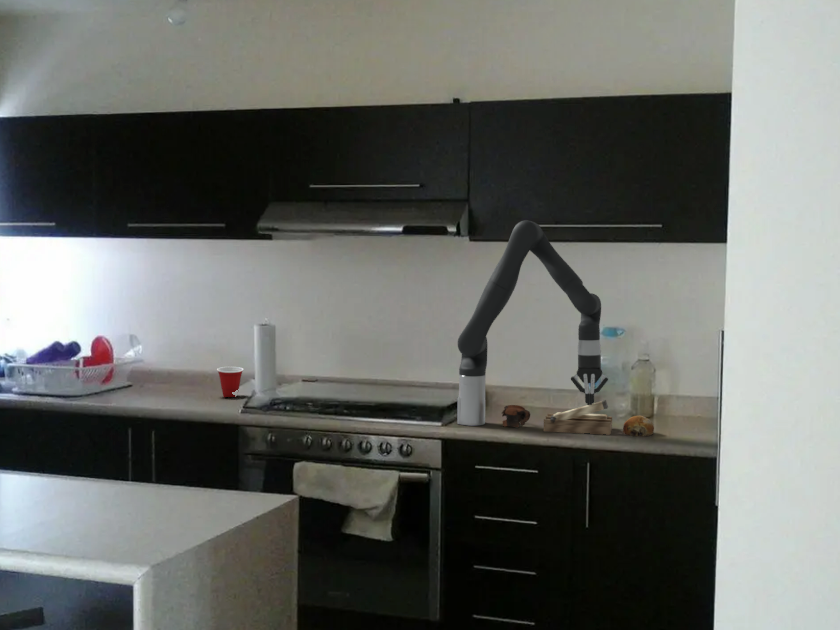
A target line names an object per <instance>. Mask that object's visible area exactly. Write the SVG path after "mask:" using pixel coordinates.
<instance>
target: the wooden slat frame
mask: <svg viewBox="0 0 840 630" xmlns="http://www.w3.org/2000/svg"><path fill="white" fill-rule="evenodd" d="M558 413H562V411H561V412H560V411H559V412H558V411H557V412H556V413H547V415H546V416H545V418H544V419H543V432H549V433H550V432H551V433H565V434H566V433H567V434H568V433H569V434H584V433H590V435H603V434H606V436H607V435H608V436H611V433H612V430H613V416H608V414H605V413H604V414H603V413H589V414H586V415H582V416H579V417H575V418H572V419H568V420H555V418H551V416H552V415H554V414H558ZM550 418H551V419H550Z"/></svg>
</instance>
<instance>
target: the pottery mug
mask: <svg viewBox="0 0 840 630" xmlns="http://www.w3.org/2000/svg"><path fill="white" fill-rule="evenodd" d="M501 414H502V415H501V416H502V417H506V418H505V419H504V420H503V421H502V427H503V426H504V427H503V428H506V427H511V428H516V427H518V428H520V427H519V426H520V425H521V426H525V425H526V423H528V421H529V419H530V418H531V413H530V411H529V410H527V409H526V408H525V407H523V406H522V405H518V404H517V405H516V404H507V405H505V406H504V409H503V410H502V412H501Z"/></svg>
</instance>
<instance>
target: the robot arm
mask: <svg viewBox="0 0 840 630" xmlns="http://www.w3.org/2000/svg"><path fill="white" fill-rule="evenodd" d="M529 252H531V253H532V254H533V255H534V256H536V257H537V259H539V261H540V262H541V263H542V265H543V266H544V267H545V269H546V270H547V272H548V274H549V275H550V277H551V278H552V280H553V281H554V282H555V283H556V284H557V285H558V287H559V288H560V289H561V290H562V291H563V292H564V293H565V294H566V296H567V298H568V299H569V301H570V302H571V303H572V306H573V307H574V309H576V311H578V312H579V313H580V323H579V325H578V328H577V329H578V333H577V334H578V342H577V343H578V344H577V371H576V374H574V375H573V376H571V377H570V380H571V383H573V384H574V386H575V387H576V388H577V389H578V391H579V392H581V393H583V394H584V401H585V404H586V405H592V404H593V403H595V394H596V393H599V392H600V391H601V390H602V388H603V387H605V385H606V383H607V382H608V381H609V377H608V376H607V375H605V374H603V370H602V365H601V364H602V362H601V361H602V358H601V357H602V356H601V355H602V348H601V340H600V339H601V331H600V330H601V329H600V323H601V316H602V301H601V299H600V297H599V295H597V294H595V293H591V292H590V291H589V290H588V289H587V288H586V286H585V285H584V283H583V280H582V279H581V277H580V276H579V275H578V274H577V273H576V272H575V270H574V269H573V268H572V267H571V266H570V265H569V264H568V263H567V262H566V261H565V260H564V258H563V257H562V256H561V255H560V254H559V253H558V251H556V249H555V248H554V246H553V245H552V244H551V242H550V240H549V239H548V237H547V236H546V234H545V233H544V231H543V229H542V228H541V226H540V225H539V224H538V223H537V222H534V221H531V220H527V219H525V220H521V221H519V222H517V223H516V224H515V226H514V228H513V229H512V232H511V234H510V237H509V239H508V242H507V244H506V247H505V249H504V252H503V253H502V256H501V257H500V259H499V261H498V262H497V265H496V266H495V268H494V271H493V272H492V273H491V275H490V277H489V279H488V281H487V283H486V285H485V287H484V289H483V291H482V292H481V295H480V297H479V299H478V302H477V305H476V307H475V310H474V311H473V314H472V316H471V318H470V319H469V321H468V322H467V324H466V325H465V327H464V328H463V330H462V331H461V333H460V335H459V336H458V339H457V348H458V351H459V352H460V353H461V361H460V364H459V368H458V370H459V371H458V376H459V377H458V382H459V383H458V384H459V385H458V396H457V410H456V411H457V413H456V414H457V415H456V416H457V419H456V420H457V425H462V426H469V427H471V426H483V425H485V424H486V370H487V365H488V337H487V335H488V333H489V331H490V328H491V327H492V325H493V324H494V322H495V320H496V319H497V318H498V316H499V315H500V314H501V312H502V311H503V310H504V308H505V307H506V306H507V304H508V302H509V300H510V298H511V297H512V294H513V292H514V291H515V288H516V286H517V283H518V280H519V276H520V272H521V267H522V264H523V262H524V260H525V258H526V257H527V255H528V253H529ZM579 379H580V381H581V382H582V383H583V384H584V387H583V385H581V383H580V382H579ZM599 380H600V381H601V382H600V383H599V384H598V386H597V387H595V386H596V383H598V381H599Z"/></svg>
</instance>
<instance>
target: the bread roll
mask: <svg viewBox="0 0 840 630" xmlns="http://www.w3.org/2000/svg"><path fill="white" fill-rule="evenodd" d="M622 428H623V429H622V431H623V434H625V435H627V436H630V435H631V437H650V436H652V435H653V434H654V431H655V426H654V424H653V422H652V421H651V419H649V418H647V417H646V416H643V415H633V416H631V417H629V418H628V419H627V420H626V421H625V422H624V423H623V427H622Z"/></svg>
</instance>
